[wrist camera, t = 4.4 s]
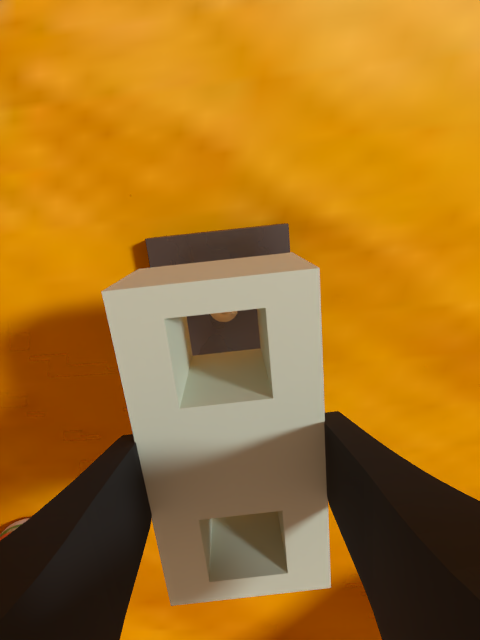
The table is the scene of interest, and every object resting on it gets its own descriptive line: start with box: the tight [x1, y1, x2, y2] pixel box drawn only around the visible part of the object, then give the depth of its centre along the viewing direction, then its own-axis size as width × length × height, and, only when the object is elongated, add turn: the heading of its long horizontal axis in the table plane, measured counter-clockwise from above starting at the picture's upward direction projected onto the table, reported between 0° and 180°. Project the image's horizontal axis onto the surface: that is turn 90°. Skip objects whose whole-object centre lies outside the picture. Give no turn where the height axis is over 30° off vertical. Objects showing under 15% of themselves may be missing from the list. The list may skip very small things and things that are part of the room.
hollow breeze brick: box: [101, 252, 331, 606], centre depth 11 cm, size 10×5×4 cm, turn 6°
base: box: [145, 223, 290, 356], centre depth 18 cm, size 12×7×4 cm, turn 6°
